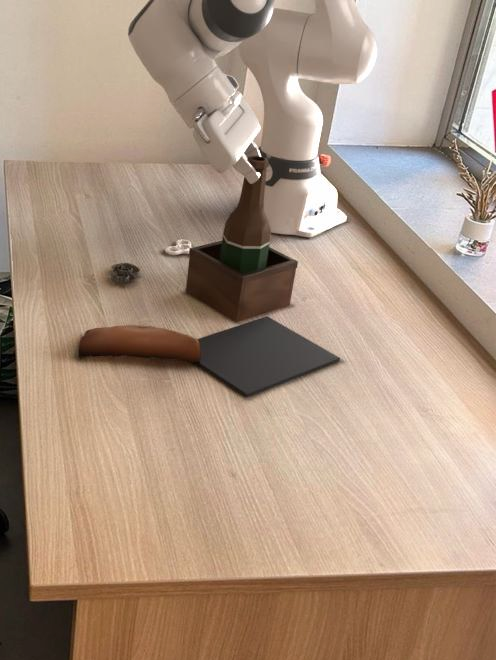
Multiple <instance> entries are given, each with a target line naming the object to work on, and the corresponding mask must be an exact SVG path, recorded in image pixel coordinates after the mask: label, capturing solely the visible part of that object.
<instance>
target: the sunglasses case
mask: <svg viewBox="0 0 496 660" xmlns="http://www.w3.org/2000/svg"><path fill="white" fill-rule="evenodd" d="M198 339H199V338H195V337H193V336H191V335H189V334H185V333H181V332H179V331H176V330H172V329H169V328H163V327H157V326H152V325H151V326H150V325H142V324H141V325H137V324H136V325H135V324H126V325H125V324H124V325H113V326H107V327H106V326H105V327H94V328H91V329H88V330H86V331H85V332H84V333H83V336H82V337H80V340H79V345H78V350H77V353H78V356H77V357H93V358H94V357H95V358H96V357H98V358H99V357H107V358H108V357H112V358H113V357H114V358H116V357H127V358H137V359H157V360H165V361H166V360H167V361H168V360H169V361H183V362H192V361H193V362H198V363H200V364H201V349H200V344H199V340H198ZM193 362H192V363H193Z"/></svg>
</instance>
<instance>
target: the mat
mask: <svg viewBox="0 0 496 660" xmlns="http://www.w3.org/2000/svg"><path fill="white" fill-rule="evenodd" d="M197 339H198V340H199V344H200V349H201V364H200V363H198V362H193V361H191V362H192V363H193V364H195V365H196V366H198V367H199V368H201V369H203V370H204V371H205V372H207V373H208V374H210V375H211V376H213V377H214V378H216V379H218V380H219V381H221V382H222V383H224V384H225V385H227V386H228V387H229V388H231V389H233V390H234V391H236V392H237V393H239V394H240V395H242V396H244V397H245V398H249V397H251V396H254V395H257V394H259V393H263V392H265V391H267V390H269V389H272V388H274V387H277V386H280V385H282V384H284V383H288V382H290V381H293V380H295V379H297V378H300V377H303V376H305V375H307V374H311V373H313V372H315V371H318V370H320V369H323V368H325V367H328V366H331V365H333V364H336V363H338V362H340V360H341V357H339V356H338V355H335V354H334V353H332V352H330V351H328V350H327V349H325V348H323V347H322V346H320V345H318V344H317V343H315V342H313V341H311V340H309V339H308V338H306V337H305V336H302V335H301V334H299V333H297V332H295V331H294V330H292V329H290V328H289V327H287V326H285V325H284V324H282V323H280V322H279V321H276V320H275V319H273V318H271V317H269V316H263V317H261V318H258V319H254V320H252V321H248V322H246V323H242V324H239V325H236V326H233V327H230V328H227V329H224V330H221V331H218V332H215V333H211V334H208V335H205V336H202V337H200V338H197Z"/></svg>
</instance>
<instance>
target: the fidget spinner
mask: <svg viewBox="0 0 496 660" xmlns="http://www.w3.org/2000/svg"><path fill="white" fill-rule="evenodd" d="M193 247H194V246H192V242H191V241H190V240H188V239H178V240H176V241H175V245H173V246H172V245H169V246H167V247H166V248H165V249H164V251H165V253H166V254H167V255H170V256H177V255H181V254H183V255H189V250H190V248H193Z"/></svg>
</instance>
